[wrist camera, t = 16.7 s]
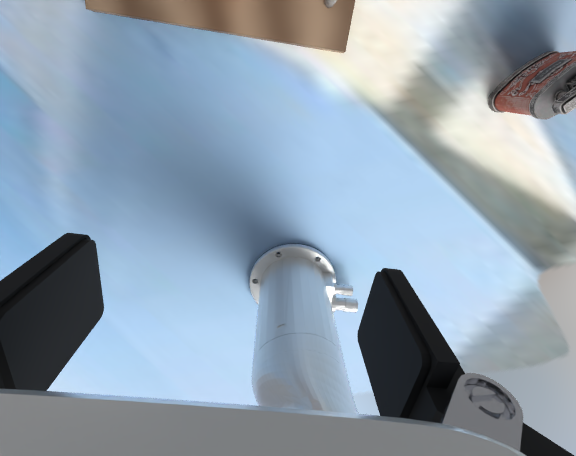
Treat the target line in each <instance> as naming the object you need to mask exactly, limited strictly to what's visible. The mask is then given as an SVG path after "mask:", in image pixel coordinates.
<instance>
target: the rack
mask: <svg viewBox="0 0 576 456" xmlns="http://www.w3.org/2000/svg"><path fill="white" fill-rule="evenodd" d="M354 4H355V0H85V5H86V9H88V10H91V11H94V12H100V13H106V14H112V15H118V16H124V17H130V18H136V19H142V20H148V21H154V22H160V23H166V24H172V25H178V26H184V27H190V28H196V29H202V30H208V31H214V32H220V33H226V34H232V35H238V36H244V37H250V38H256V39H262V40H268V41H274V42H280V43H286V44H291V45H297V46H303V47H309V48H315V49H321V50H327V51H333V52H339V53H344V52H345V51H346V45H347V40H348V35H349V30H350V25H351V19H352V14H353V9H354Z"/></svg>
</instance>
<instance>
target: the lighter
mask: <svg viewBox="0 0 576 456" xmlns="http://www.w3.org/2000/svg"><path fill="white" fill-rule="evenodd" d="M488 105H489V108H490V109H491V110H492V111H494V112H500V113H503V112H511V113H518V114H525V115H531V116H533V117H535V118H538V119H549V118H551V117H553V116H555V115H557V114H567V113H569V112H570V111H572V110H573V109H575V108H576V51H573V52H562V53H559V52H557V51H552V52H546V53H543V54H542V55H540V56H538V57H536V58H534V59H532V60H531V61H529V62H528V63H526V64H525V65H523V66H522V67H520V68H519V69H517V70H516V71H515V72H514V73H512V74H511V75H510V76H509V77H508V78H507V79H505V80H504V81H503V82H502V83H501V84H500V85H499V86H498V87H497V88H496V89H495V90H494V91H493V92H492V93H491V95H490V96H489V99H488Z"/></svg>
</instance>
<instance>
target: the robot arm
mask: <svg viewBox="0 0 576 456" xmlns="http://www.w3.org/2000/svg"><path fill="white" fill-rule="evenodd" d="M277 252H280V253H277ZM317 256H318V257H317ZM250 291H251V294H252V296H253V299H254V300H255V301H256V303H257V304H258V312H257V323H256V333H255V344H254V354H253V366H252V387H253V392H254V395H255V398H256V401H257V403H258V405H259V406H253V405H239V404H226V403H212V402H198V401H184V400H170V399H156V398H142V397H127V396H112V395H97V394H82V393H67V392H52V391H47V389H48V388H49V387H50V385H51V384H52V383H53V381H54V380H55V379H56V377H57V376H58V375H59V373H60V372H61V371H62V369H63V368H64V367H65V365H66V364H67V362H68V361H69V360H70V358H71V357H72V356H73V354H74V353H75V352H76V350H77V349H78V348H79V346H80V345H81V344H82V342H83V341H84V340H85V338H86V337H87V336H88V334H89V333H90V332H91V330H92V329H93V328H94V326H95V325H96V324H97V322H98V321H99V320H100V318H101V317H102V314H103V311H104V304H103V296H102V288H101V280H100V273H99V265H98V257H97V249H96V243H95V241H94V240H91V239H90V237H89V236H88V235H83V234H74V233H66V234H64V235H63V236H62V237H60V238H59V239H57V240H56V241H55V242H53V243H52V244H51V245H49V246H48V247H46V248H45V249H44V250H42V251H41V252H39V253H38V254H37V255H35V256H34V257H33V258H31V259H30V260H28V261H27V262H26V263H24V264H23V265H22V266H20V267H19V268H17V269H16V270H15V271H13V272H12V273H11V274H9V275H8V276H6V277H5V278H4V279H2V280H1V281H0V456H574V455H572V454H571V453H569V452H568V451H566V450H565V449H563V448H561V447H560V446H558V445H557V444H555V443H554V442H552V441H551V440H549V439H548V438H546V437H544V436H543V435H541V434H540V433H538V432H537V431H535V430H534V429H532V428H531V427H529V426H527V425H526V424H524V423H523V413H522V409H521V407H520V405H519V403H518V401H517V400H516V399H515V398H514V396H513V395H512V394H511V393H510V392H509V391H508V390H506V389H505V388H504V387H503V386H502V385H500V384H499V383H497V382H496V381H494V380H492V379H490V378H488V377H486V376H484V375H480V374H476V373H466V374H465V373H464V371H463V369H462V368H461V366H460V365H459V364H460V363H459V361H458V359H457V358H456V356H455V355H454V353H453V351H452V350H451V348H450V347H449V345H448V344H447V342H446V340H445V339H444V337H443V336H442V334H441V333H440V331H439V329H438V328H437V326H436V325H435V323H434V321H433V320H432V318H431V317H430V315H429V314H428V312H427V310H426V309H425V307H424V306H423V304H422V302H421V301H420V299H419V298H418V296H417V295H416V293H415V291H414V290H413V288H412V287H411V285H410V283H409V282H408V280H407V279H406V277H405V276H404V274H403V272H402V271H401V270H397V269H388V268H383V269H382V270H381V272H377V273H376V275H375V278H374V281H373V284H372V287H371V291H370V294H369V297H368V300H367V304H366V307H365V310H364V313H363V317H362V320H361V323H360V326H359V330H358V343H359V346H360V349H361V353H362V356H363V359H364V363H365V366H366V369H367V373H368V376H369V379H370V383H371V386H372V390H373V393H374V396H375V400H376V403H377V406H378V410H379V413H380V416H375V415H364V414H358V411H357V408H356V405H355V402H354V399H353V395H352V391H351V387H350V384H349V380H348V376H347V371H346V367H345V363H344V359H343V354H342V350H341V346H340V341H339V337H338V332H337V328H336V324H335V319H334V315H333V312H335V310H340V311H344V312H353V313H356V312H357V308H358V302H357V299H350V298H336V296H335V295H336V294H342V295H348V296H352V294H353V287H352V286H348V285H337V284H336V275H335V271H334V268H333V266H332V264H331V262H330V261H329V259H328V258H327V257H326V256H325V255H324V254H323V253H321V252H320V251H318V250H316V249H315V248H313V247H310V246H306V245H302V244H286V245H281V246H277V247H275V248H273V249H270V250H269V251H267V252H266V253H264V254H263V255H262V256H261V257H260V258H259V259H258V260H257V261H256V263H255V264H254V266H253V269H252V271H251V275H250Z"/></svg>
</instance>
